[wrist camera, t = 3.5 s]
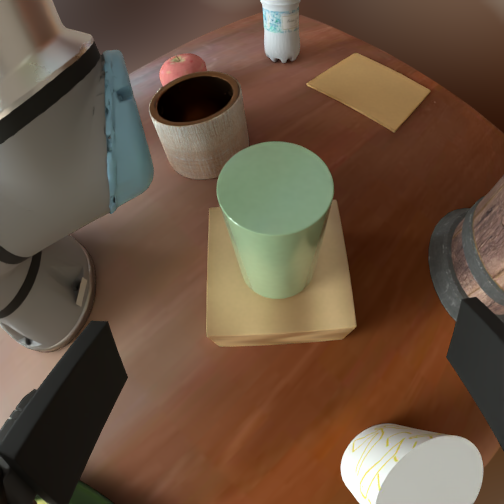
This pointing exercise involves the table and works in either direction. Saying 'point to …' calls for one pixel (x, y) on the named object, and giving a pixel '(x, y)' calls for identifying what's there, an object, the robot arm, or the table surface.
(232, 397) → the table surface
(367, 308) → the table surface
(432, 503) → the cup
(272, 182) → the canister
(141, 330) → the table surface
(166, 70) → the apple
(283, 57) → the bottle
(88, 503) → the plate
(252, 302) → the plate
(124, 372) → the robot arm
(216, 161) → the planter
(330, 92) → the cork mat
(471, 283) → the tankard
